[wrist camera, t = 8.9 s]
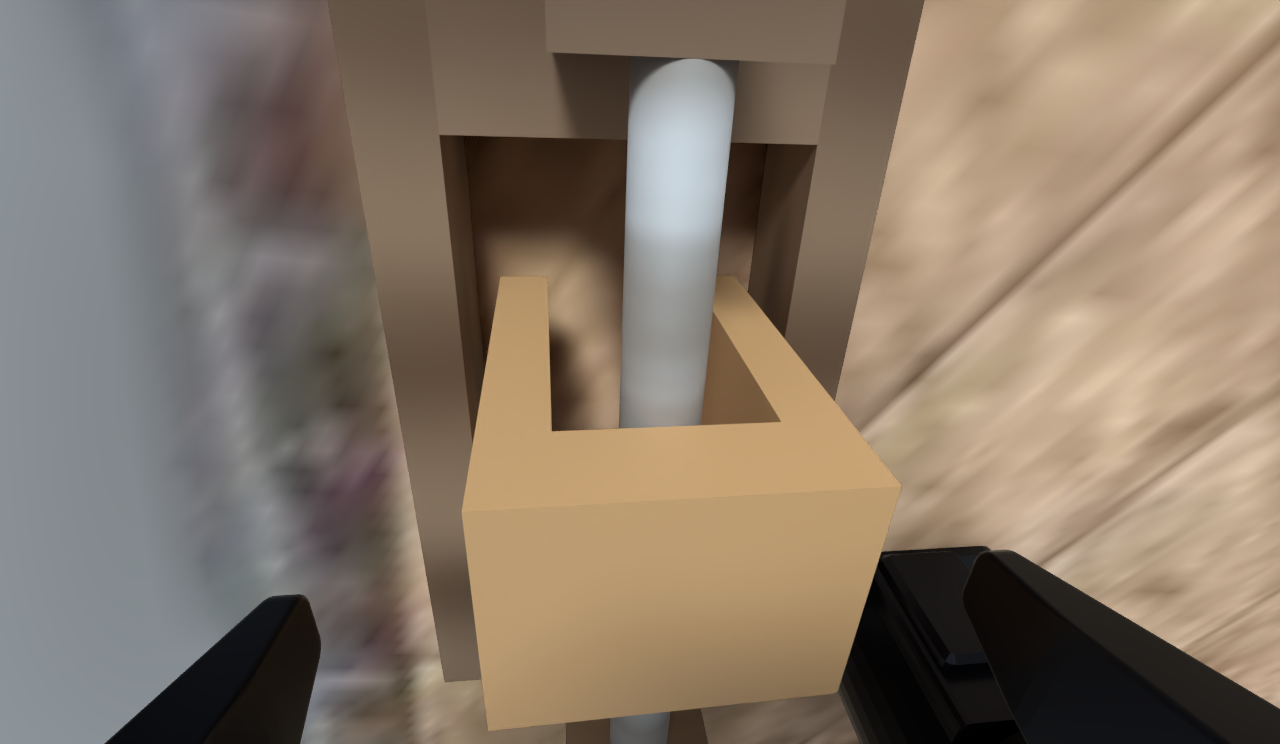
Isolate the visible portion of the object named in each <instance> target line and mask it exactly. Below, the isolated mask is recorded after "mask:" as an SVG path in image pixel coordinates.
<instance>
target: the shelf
mask: <svg viewBox="0 0 1280 744" xmlns="http://www.w3.org/2000/svg"><path fill="white" fill-rule="evenodd" d="M923 4H924V0H328V6H329V12H330V17H331V23H332V29H333V35H334V41H335V46H336V52H337V58H338V64H339V70H340V76H341V81H342V87H343V93H344V99H345V105H346V110H347V116H348V122H349V128H350V134H351V140H352V145H353V151H354V157H355V163H356V169H357V174H358V180H359V186H360V192H361V198H362V203H363V209H364V215H365V221H366V227H367V233H368V238H369V244H370V250H371V256H372V262H373V267H374V273H375V279H376V285H377V291H378V297H379V302H380V308H381V314H382V320H383V326H384V331H385V337H386V343H387V349H388V355H389V360H390V366H391V372H392V378H393V384H394V390H395V395H396V401H397V407H398V413H399V419H400V424H401V430H402V436H403V442H404V448H405V453H406V459H407V465H408V471H409V477H410V483H411V488H412V494H413V500H414V506H415V512H416V517H417V523H418V529H419V535H420V541H421V547H422V552H423V558H424V564H425V570H426V576H427V581H428V587H429V593H430V599H431V605H432V610H433V616H434V622H435V628H436V634H437V640H438V645H439V651H440V657H441V663H442V669H443V674H444V680H445V682H453V681H466V680H479V679H482V677H481V669H480V661H479V652H478V644H477V636H476V628H475V619H474V611H473V603H472V594H471V586H470V578H469V570H468V561H467V553H466V545H465V537H464V528H463V520H462V506H463V500H464V494H465V488H466V482H467V476H468V470H469V464H470V458H471V452H472V446H473V440H474V434H475V428H476V422H477V416H478V409H479V403H480V397H481V391H482V385H483V379H484V373H485V367H484V355H483V344H482V333H481V322H480V311H479V300H478V288H477V277H476V266H475V255H474V244H473V233H472V221H471V210H470V199H469V188H468V177H467V166H466V155H465V143H464V136H502V137H540V138H578V139H616V140H628V146H627V179H626V213H625V246H624V279H623V313H622V346H621V380H620V413H619V429H624V428H648V427H673V426H697V425H701V418H702V408H703V399H704V389H705V380H706V370H707V361H708V351H709V342H710V332H711V323H712V313H713V304H714V294H715V285H716V275H717V266H718V256H719V247H720V237H721V228H722V218H723V209H724V199H725V190H726V180H727V171H728V161H729V152H730V142H731V143H768V146H767V153H766V161H765V168H764V176H763V183H762V191H761V198H760V206H759V213H758V221H757V229H756V236H755V244H754V251H753V259H752V266H751V274H750V281H749V289H748V293H749V295H750V296H751V297H752V298H753V300H754V301H755V302H756V303H757V305H758V306H759V307H760V309H761V310H762V311H763V312H764V314H765V315H766V316H767V317H768V319H769V320H770V321H771V322H772V324H773V325H774V326H775V327H776V329H777V330H778V331H779V332H780V334H781V335H782V336H783V337H784V339H785V340H786V341H787V342H788V344H789V345H790V346H791V348H792V349H793V350H794V351H795V353H796V354H797V355H798V356H799V358H800V359H801V360H802V361H803V363H804V364H805V365H806V366H807V368H808V369H809V370H810V371H811V373H812V374H813V375H814V376H815V378H816V379H817V380H818V381H819V383H820V384H821V385H822V387H823V388H824V389H825V390H826V392H827V393H828V394H829V395H830V397H831V398H832V399H833V400H834V401H835V397H836V393H837V388H838V384H839V379H840V375H841V370H842V366H843V361H844V357H845V352H846V348H847V343H848V339H849V335H850V330H851V326H852V321H853V317H854V312H855V308H856V303H857V299H858V294H859V290H860V285H861V281H862V276H863V272H864V268H865V263H866V259H867V254H868V250H869V245H870V241H871V236H872V232H873V227H874V223H875V218H876V214H877V209H878V205H879V201H880V196H881V192H882V187H883V183H884V178H885V174H886V169H887V165H888V160H889V156H890V151H891V147H892V142H893V138H894V134H895V129H896V125H897V120H898V116H899V111H900V107H901V102H902V98H903V93H904V89H905V84H906V80H907V76H908V71H909V67H910V62H911V58H912V53H913V49H914V44H915V40H916V35H917V31H918V26H919V22H920V17H921V13H922V9H923ZM566 744H708V741H707V736H706V732H705V727H704V722H703V717H702V713H701V708H697V709H688V710H679V711H670V712H661V713H651V714H642V715H633V716H624V717H614V718H605V719H596V720H587V721H578V722H568V723H566Z"/></svg>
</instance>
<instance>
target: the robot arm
mask: <svg viewBox="0 0 1280 744" xmlns="http://www.w3.org/2000/svg"><path fill="white" fill-rule="evenodd" d="M320 652H321V640H320V635H319V632H318V629H317V625H316V622H315V619H314V616H313V613H312V609H311V606H310V603H309V601H308V599H307V598H306V597H305V596H304V595H300V594H297V595H282V596H272V597H269V598H267V599H266V600H264V601H263V602H262V603H260V604H259V605H258V606H257V607H256V608H255V609H254V610H253V611H251V612H250V613H249V614H248V615H247V616H246V617H245V618H244V619H243V620H241V621H240V622H239V623H238V624H237V625H236V626H235V627H234V628H233V629H231V630H230V631H229V632H228V633H227V634H226V635H225V636H224V637H223V638H221V639H220V640H219V641H218V642H217V643H216V644H215V645H214V646H213V647H211V648H210V649H209V650H208V651H207V652H206V653H205V654H204V655H203V656H201V657H200V658H199V659H198V660H197V661H196V662H195V663H194V664H193V665H191V666H190V667H189V668H188V669H187V670H186V671H185V672H184V673H183V674H181V675H180V676H179V677H178V678H177V679H176V680H175V681H174V682H172V683H171V684H170V685H169V686H168V687H167V688H166V689H165V690H164V691H163V692H161V693H160V694H159V695H158V696H157V697H156V698H155V699H154V700H153V701H151V702H150V703H149V704H148V705H147V706H146V707H145V708H144V709H142V710H141V711H140V712H139V713H138V714H137V715H136V716H135V717H134V718H132V719H131V720H130V721H129V722H128V723H127V724H126V725H125V726H124V727H122V728H121V729H120V730H119V731H118V732H117V733H116V734H115V735H114V736H112V737H111V738H110V739H109V740H108V741H107V742H106V743H105V744H300V742H301V738H302V733H303V729H304V725H305V720H306V716H307V711H308V707H309V703H310V698H311V694H312V690H313V685H314V681H315V676H316V672H317V668H318V663H319V659H320ZM838 692H839V695H840V697H841V699H842V702H843V704H844V706H845V709H846V711H847V713H848V716H849V718H850V720H851V723H852V725H853V727H854V730H855V732H856V735H857V737H858V739H859V742H860V744H1280V709H1279V708H1278V707H1276V706H1274V705H1273V704H1271V703H1269V702H1268V701H1266V700H1264V699H1262V698H1261V697H1259V696H1257V695H1256V694H1254V693H1252V692H1251V691H1249V690H1247V689H1246V688H1244V687H1242V686H1240V685H1239V684H1237V683H1235V682H1234V681H1232V680H1230V679H1229V678H1227V677H1225V676H1224V675H1222V674H1220V673H1219V672H1217V671H1215V670H1213V669H1212V668H1210V667H1208V666H1207V665H1205V664H1203V663H1202V662H1200V661H1198V660H1197V659H1195V658H1193V657H1192V656H1190V655H1188V654H1186V653H1185V652H1183V651H1181V650H1180V649H1178V648H1176V647H1175V646H1173V645H1171V644H1170V643H1168V642H1166V641H1165V640H1163V639H1161V638H1159V637H1158V636H1156V635H1154V634H1153V633H1151V632H1149V631H1148V630H1146V629H1144V628H1143V627H1141V626H1139V625H1137V624H1136V623H1134V622H1132V621H1131V620H1129V619H1127V618H1126V617H1124V616H1122V615H1121V614H1119V613H1117V612H1116V611H1114V610H1112V609H1110V608H1109V607H1107V606H1105V605H1104V604H1102V603H1100V602H1099V601H1097V600H1095V599H1094V598H1092V597H1090V596H1089V595H1087V594H1085V593H1083V592H1082V591H1080V590H1078V589H1077V588H1075V587H1073V586H1072V585H1070V584H1068V583H1067V582H1065V581H1063V580H1062V579H1060V578H1058V577H1056V576H1055V575H1053V574H1051V573H1050V572H1048V571H1046V570H1045V569H1043V568H1041V567H1040V566H1038V565H1036V564H1035V563H1033V562H1031V561H1029V560H1028V559H1026V558H1024V557H1023V556H1021V555H1019V554H1018V553H1016V552H1014V551H1011V550H993V551H991V549H990V548H988V547H985V546H975V547H958V548H941V549H924V550H907V551H890V552H881V555H880V558H879V561H878V564H877V567H876V571H875V574H874V577H873V580H872V583H871V587H870V590H869V593H868V596H867V599H866V603H865V606H864V609H863V612H862V615H861V619H860V622H859V625H858V628H857V631H856V635H855V638H854V641H853V644H852V647H851V651H850V654H849V657H848V660H847V663H846V667H845V670H844V673H843V676H842V679H841V683H840V686H839V689H838Z"/></svg>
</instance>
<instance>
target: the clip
mask: <svg viewBox="0 0 1280 744" xmlns="http://www.w3.org/2000/svg"><path fill="white" fill-rule="evenodd" d="M901 487H902V486H901V485H900V483H899V482H898V481H897V480H896V478H895V477H894V476H893V475H892V473H891V472H890V471H889V470H888V468H887V467H886V466H885V465H884V463H883V462H882V461H881V460H880V458H879V457H878V456H877V454H876V453H875V452H874V451H873V449H872V448H871V447H870V446H869V444H868V443H867V442H866V441H865V439H864V438H863V437H862V436H861V434H860V433H859V432H858V431H857V429H856V428H855V427H854V426H853V424H852V423H851V422H850V420H849V419H848V418H847V417H846V415H845V414H844V413H843V412H842V410H841V409H840V408H839V407H838V405H837V404H836V403H835V402H834V400H833V399H832V398H831V397H830V395H829V394H828V393H827V392H826V390H825V389H824V388H823V387H822V385H821V384H820V383H819V381H818V380H817V379H816V378H815V376H814V375H813V374H812V373H811V371H810V370H809V369H808V368H807V366H806V365H805V364H804V363H803V361H802V360H801V359H800V358H799V356H798V355H797V354H796V353H795V351H794V350H793V349H792V348H791V346H790V345H789V344H788V342H787V341H786V340H785V339H784V337H783V336H782V335H781V334H780V332H779V331H778V330H777V329H776V327H775V326H774V325H773V324H772V322H771V321H770V320H769V319H768V317H767V316H766V315H765V314H764V312H763V311H762V310H761V309H760V307H759V306H758V305H757V303H756V302H755V301H754V300H753V298H752V297H751V296H750V295H749V293H748V292H747V291H746V290H745V288H744V287H743V286H742V285H741V283H740V282H739V281H738V280H737V278H736V277H735V276H716V285H715V294H714V304H713V313H712V323H711V332H710V342H709V351H708V361H707V370H706V380H705V389H704V399H703V408H702V418H701V425H697V426H673V427H648V428H624V429H600V430H575V431H552V420H551V385H550V349H549V314H548V278H547V277H500V283H499V289H498V295H497V301H496V307H495V313H494V319H493V325H492V331H491V337H490V343H489V349H488V355H487V361H486V367H485V373H484V379H483V385H482V391H481V397H480V403H479V409H478V416H477V422H476V428H475V434H474V440H473V446H472V452H471V458H470V464H469V470H468V476H467V482H466V488H465V494H464V500H463V506H462V520H463V528H464V537H465V545H466V553H467V561H468V570H469V578H470V586H471V594H472V603H473V611H474V619H475V628H476V636H477V644H478V652H479V661H480V669H481V677H482V685H483V694H484V702H485V710H486V718H487V727H488V731H495V730H504V729H513V728H522V727H532V726H541V725H550V724H559V723H568V722H578V721H587V720H596V719H605V718H614V717H624V716H633V715H642V714H651V713H661V712H670V711H679V710H688V709H697V708H707V707H716V706H725V705H734V704H743V703H753V702H762V701H771V700H780V699H789V698H799V697H808V696H817V695H826V694H836V693H837V692H838V689H839V686H840V683H841V679H842V676H843V673H844V670H845V667H846V663H847V660H848V657H849V654H850V651H851V647H852V644H853V641H854V638H855V635H856V631H857V628H858V625H859V622H860V619H861V615H862V612H863V609H864V606H865V603H866V599H867V596H868V593H869V590H870V587H871V583H872V580H873V577H874V574H875V571H876V567H877V564H878V561H879V558H880V555H881V551H882V548H883V545H884V542H885V539H886V535H887V532H888V529H889V526H890V522H891V519H892V516H893V513H894V510H895V506H896V503H897V500H898V497H899V494H900V490H901Z"/></svg>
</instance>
